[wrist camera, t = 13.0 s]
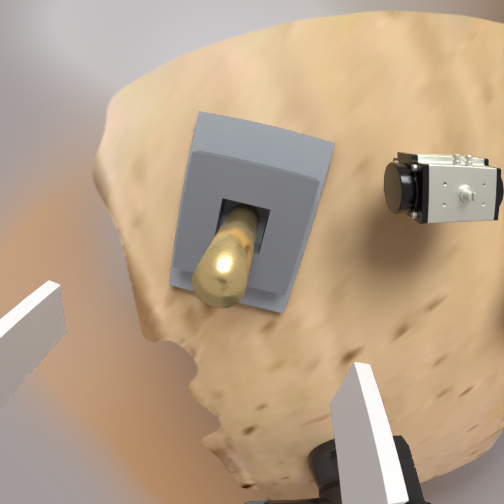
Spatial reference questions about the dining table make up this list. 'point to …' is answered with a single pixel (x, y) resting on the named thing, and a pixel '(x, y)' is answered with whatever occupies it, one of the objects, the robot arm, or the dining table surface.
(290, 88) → the dining table surface
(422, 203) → the pneumatic valve
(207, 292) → the brass pin
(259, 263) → the grey socket base
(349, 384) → the robot arm
